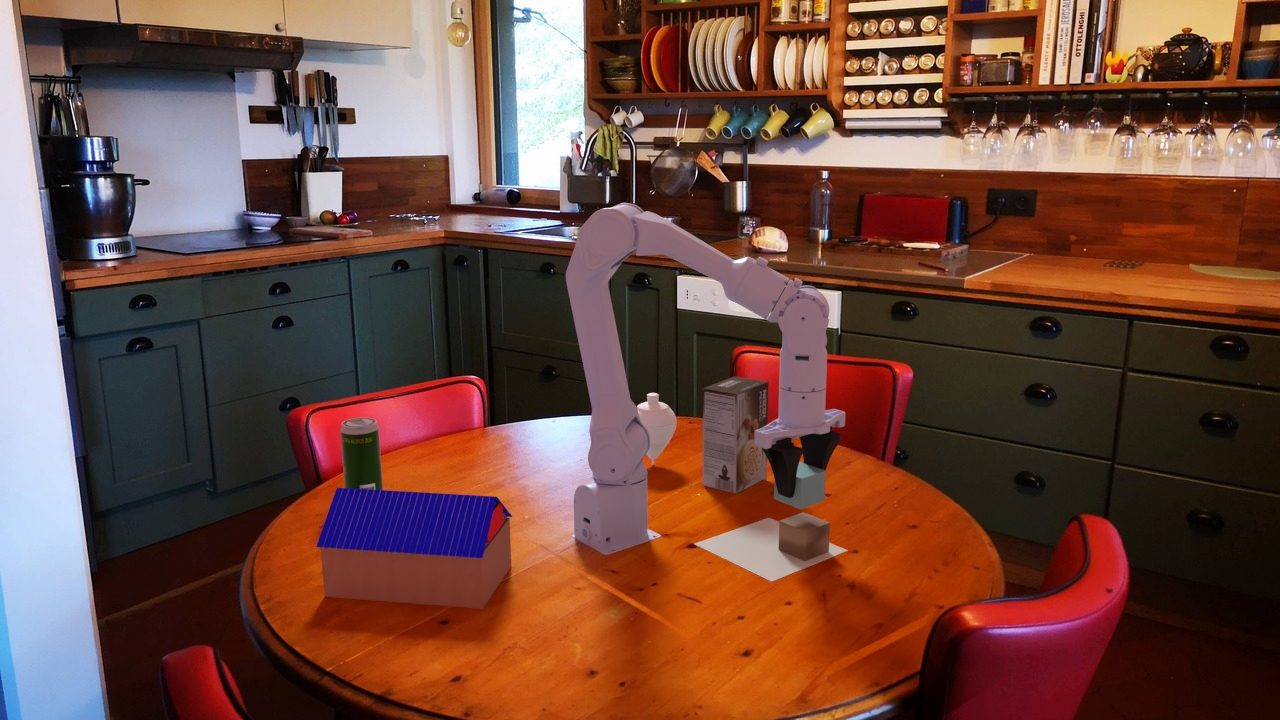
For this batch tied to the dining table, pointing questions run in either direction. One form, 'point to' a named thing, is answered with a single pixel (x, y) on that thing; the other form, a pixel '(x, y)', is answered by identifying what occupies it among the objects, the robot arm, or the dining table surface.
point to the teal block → (805, 487)
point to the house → (415, 547)
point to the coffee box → (734, 433)
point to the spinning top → (657, 424)
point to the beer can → (361, 454)
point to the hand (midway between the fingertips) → (799, 490)
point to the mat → (761, 550)
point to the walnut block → (804, 536)
